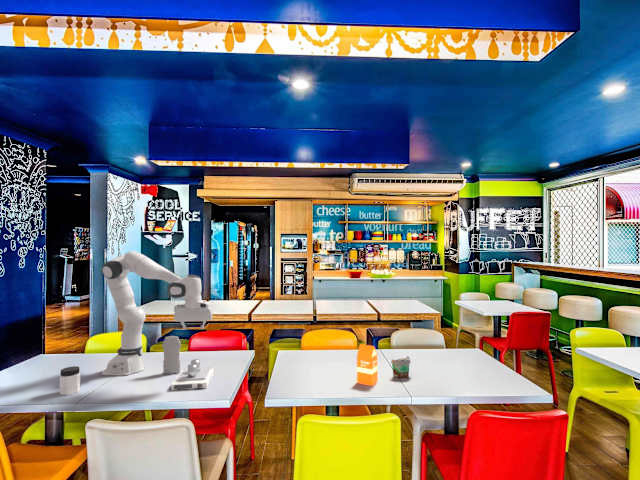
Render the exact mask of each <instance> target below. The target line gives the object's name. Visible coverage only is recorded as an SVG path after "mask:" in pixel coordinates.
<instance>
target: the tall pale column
mask: <svg viewBox="0 0 640 480" xmlns="http://www.w3.org/2000/svg"><path fill="white" fill-rule="evenodd" d="M181 343H182V341H180V339H179V336H175V335H170V336H165V337H164V340H163V342H162V349H163V362H162V363H163V365H162V367H163V373H164V375H175V374H174V373H178V374H180V372H181V359H180V357H181V355H180V354H181V353H180V350H181V348H182V347H181V346H182V344H181Z"/></svg>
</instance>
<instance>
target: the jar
mask: <svg viewBox="0 0 640 480" xmlns="http://www.w3.org/2000/svg"><path fill="white" fill-rule="evenodd" d="M80 390H81V371H80V366H75V365H74V366H67V367H64V368H62V369H61V370H60V375H59V395H60V396H69V395H73V394H77V393H78V392H79V391H80Z"/></svg>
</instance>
